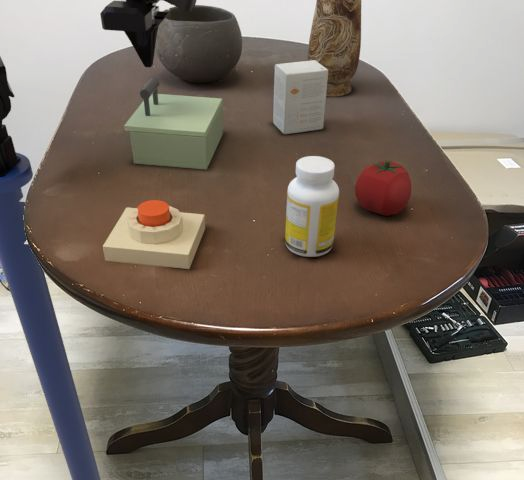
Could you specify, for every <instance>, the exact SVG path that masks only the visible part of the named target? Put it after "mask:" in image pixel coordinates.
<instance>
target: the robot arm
mask: <svg viewBox="0 0 524 480" xmlns="http://www.w3.org/2000/svg"><path fill="white" fill-rule="evenodd" d="M160 1H161V0H113V1H111V2H110V3H108V4H107V5H105V7H104V8H103V9H102V11H100V13H99V14H100V21H101V28H102V29H103V30H104V31H115V32H124V34H125V35H126V37H127V38H128V40H129V42H130V44H131V45H132V47H133V49H134V50H135V52H136V54H137V56H138V58H139V60H140V61H141V63H142V65H143V67H144V68H152V67H153V66H154V59H155V58H154V57H155V52H156V49H155V44H156V37H157V31H158V26H159V25H160V23H161V22H162V21H163V20H164V19H165V18H166V17H167V15H168V12H163V11H164V10H160V6H159V5H157V4H158V3H159V2H160ZM162 1H164V2H166V3H168V4H169V5H172V6H173V7H178V8H179V10H181V11H184V12H191V10H192V8H194V7H195V5H197V0H162ZM11 98H15V94H14V92H13V89H12V87H11V85H10V83H9V80H8V74H7V69H6V65H5V63H4V60H3V59H2V57H1V56H0V177H4V176H5V175H6V174H7V173H8V172H9V171H10V170H11V169H12V168H13V167H14V166H15V165H16V164H17V163H18V162H19V161H20V160H21V159H20V157H19V156H16V153H17V152H16V148H15V146H14V145H15V144H14V141H13V138H12V136H11V135H9V132H8V129H7V125H6V124H4V123H3V120H5V119H6V118H7V117H8V115H9V114H10V112H11V111H12V100H11Z"/></svg>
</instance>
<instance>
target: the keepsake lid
mask: <svg viewBox="0 0 524 480" xmlns="http://www.w3.org/2000/svg"><path fill="white" fill-rule="evenodd" d="M160 84H161V83H160V79H158V77H156V76H152V77H150V79H149V80H148V81H147V82H146V84H145V85H144V86H143V88H142V89H141V90H140V92H139V96H140V98H141V99H142V100H143V101H142V102H141V104H140V105H139V106H138V107H137V108H136V110H135V111H134V112H133V113H132V115H131V116H130V117H129V119H128V120H127V121H126V123H125V124H123V129H124V131H127V132H130V131H137V132H149V133H162V134H174V135H187V136H199V137H206V135H207V133H208V131H209V129H210V127H211V125H212V123H213V121H214V119H215V117H216V115H217V113H218V111H219V109H220V107H221V105H222V106H223V98H220V97H219V98H217V97H207V96H194V95H193V96H191V95H180V94H167V93H166V94H165V93H158V87H159V86H160Z"/></svg>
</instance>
